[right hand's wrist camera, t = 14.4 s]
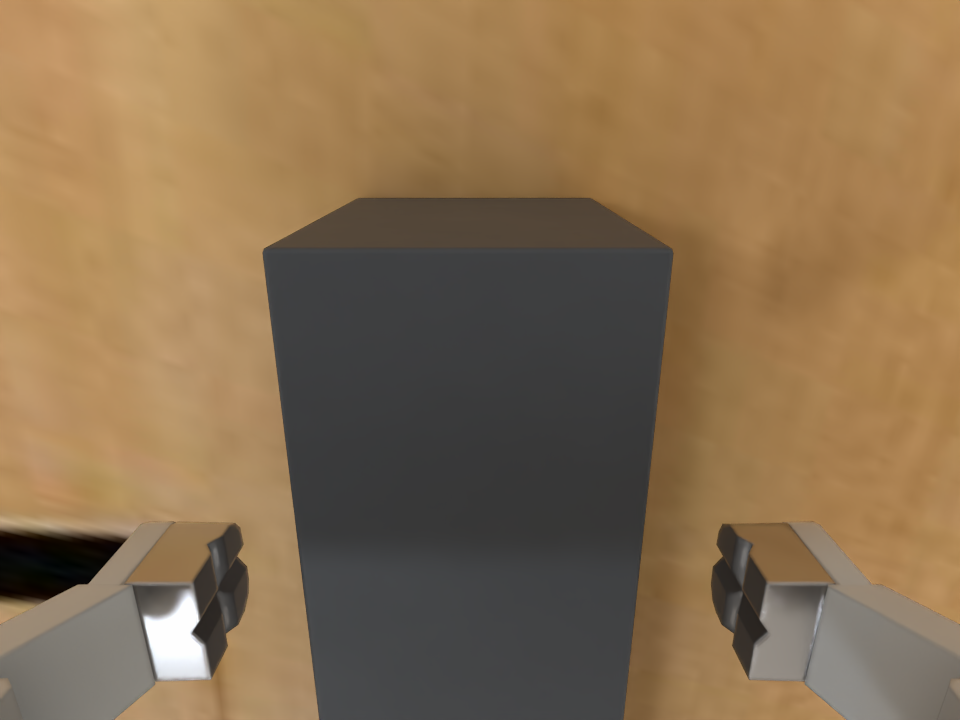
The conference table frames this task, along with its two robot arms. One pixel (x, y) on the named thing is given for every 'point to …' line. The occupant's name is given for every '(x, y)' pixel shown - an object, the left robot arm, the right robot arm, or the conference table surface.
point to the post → (469, 450)
